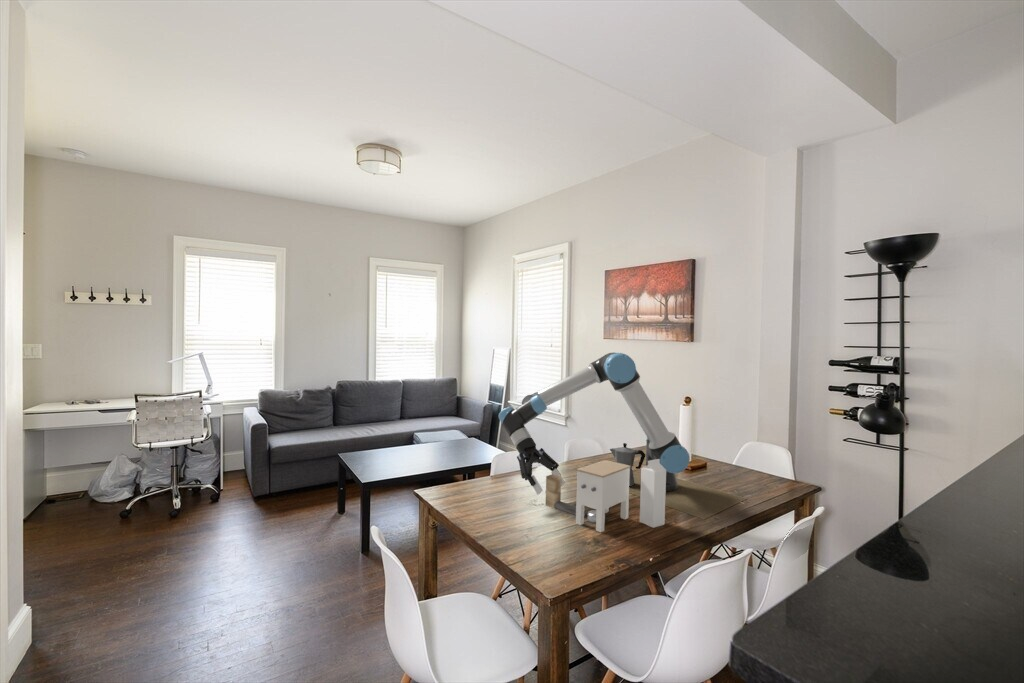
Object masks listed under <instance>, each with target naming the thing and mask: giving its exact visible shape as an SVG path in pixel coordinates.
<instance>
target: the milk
mask: <svg viewBox="0 0 1024 683" xmlns="http://www.w3.org/2000/svg"><path fill="white" fill-rule="evenodd" d="M640 470H641V471H640V494H639V496H640V498H639V501H640V502H639V522H640V523H642V524H644V525H646V526H648V527H650V528H653V529H654V528H657V527H661V526H664V525H665V520H666V519H665V518H666V494H667V493H666V492H667V491H666V469H665V468H664V467H663V466H662V465H661V464H660V459H656V460H650V461H648V465H647V466H646V465H645V466H643V467H642V466H641V468H640Z"/></svg>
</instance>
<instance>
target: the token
mask: <svg viewBox="0 0 1024 683" xmlns="http://www.w3.org/2000/svg"><path fill="white" fill-rule="evenodd" d="M586 516H587V517H586V518H587V519H586V520H587V521H588V522H589V523H593V524H596V509H593V510H592V509H591V510H588V511H587V513H586Z"/></svg>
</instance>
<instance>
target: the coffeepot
mask: <svg viewBox="0 0 1024 683" xmlns="http://www.w3.org/2000/svg"><path fill="white" fill-rule="evenodd" d="M622 445H623V446H622V447H612V448H610V449H609V451H610V452H611V453H612V455H613V457H614V460H615V461H614V462H616V463H621V464H625V465H629V466H631V468H630V477H629V486H632V485H634V484H635V478H634V470H633V466H634V464H635V463H634V462H635V457H636V455H640V458H639V459H640V460H639V462H638V465H637V466H635V467H634V468H635V469H636V470H641V468H642V466H643V463H644V461H645V459H646V452H644V451H643V450H641V449H634V448H631V447H627V445H628V443H623V444H622ZM634 486H635V485H634ZM632 487H633V486H632Z"/></svg>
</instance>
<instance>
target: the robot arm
mask: <svg viewBox="0 0 1024 683" xmlns="http://www.w3.org/2000/svg"><path fill="white" fill-rule="evenodd" d="M640 380H641V375H640V374H639V372H638V371H637V366H636V363H635V361H634V360H633V358H631V357H630V355H628V354H625V353H623V352H609V353H606V354H603V356H601V357H600V358H597V359H596V360H595V361H592V362H591V363H589V364H588V367H585V368H584V369H582V370H579V371H576V372H575V373H573V374H570V375H569V376H567V377H565V378H563V379H561V380H558V381H556V382H554V383H552V384H550V385H548V386H546V387H544V388H542V389H540V390H537V392H534V393H531V394H528V395H527V394H526V395H525V396H524V397H523V398H522V400H521V404H520V405H519V406H517V407H516V408H514V407H513V406H507V407H506V408H503V409H502V410H501V411H500V412H499V413H498V419H499V421H500V423H501V425H502V427H503V428H504V431H505V432H506V434H507V435H508V436H509V438H510V439H511V441H512V443H513V445H514V446H515V449H516V450H517V452H518V455H517V456H516V459H517V460H518V463H519V469H520V476H521V478H522V480H523V479H524V480H525V481H528V482H529V484H530V486H531V487H532V488H533V489H534V491H535V494H536V495H537V496H538V495H540V494H541V493H542V492H543V491H544V490H543V488H542V486H541V485H540V483H539V481H538V480H537V477H536V476H535V475H534V474H533V464H536V463H537V464H541V465H542V466H543V467H545V468H547V470H550V471H551V474H554V475H558V476H561V487H563V486H564V485H565V483H566V482H565V481H564V478H563V477H562V474H561V473H560V472H559V470H558V468H559V467H560V465H559V463H558V462H557V461H556V460H554V459H553V458H552V457H551V456H550V455H549V454H548V453H547V452H546V451H545V449H544V448H542V447H541V448H540V449H539V450H538V449H537V443H536V442H535V441H534V439H533V437H532V436H531V434H530V432H529V431H528V429H527V428H526V426H525V425H526V424H528V423H529V422H531V421H533V420H534V419H535V418H537V417H538V416H540V415H542V414H543V413H544V412H545V411H546V410H547V409H548V406H550V405H552V404H554V403H556V402H558V401H560V400H562V399H566V398H567V397H569V396H571V395H573V394H575V393H577V392H580V391H581V390H583V389H585V388H588V387H590V386H592V385H594V384H596V383H597V384H601V383H603V382H606V381H609V383H610V384H611V386H612V387H613V389H614V391H615V392H619V393H620V394H621V396H622V398H624V401H625V402H626V404H627V406H628V407H629V410H630V411H631V412H632V414H633V416H634V417H635V419H636V421H637V422H638V424H639V427H641V429H642V431H643V433H644V435H645V436H646V440H645V441H646V443H645V444H646V447H645V449H646V450H645V451H646V452H645V466H647V465H648V461H650V460H656V459H660V464H661V465H662V466H663V467H664V468H665V469H666V492H670V491H672V490H673V491H676V490H677V489H678V480H677V478H676V474H679V473H682V472H684V471H685V470H686V469H687V468H688V466H689V464H690V461H691V460H690V454H689V452H688V450H687V449H686V447H685V446H683V445H682V444H681V443H680V441H679V439H678V437H677V436H676V434H675V432H672V431H669V430H668V427H667V426H666V425H665V423H664V422H663V420H662V418H661V416H660V415H659V413H658V412H657V410H656V408H655V406H654V405H653V403H652V401H651V400H650V398H649V397H648V395H647V393H646V391H645V390H644V388H643V386H642V385H641V383H640Z"/></svg>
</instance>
